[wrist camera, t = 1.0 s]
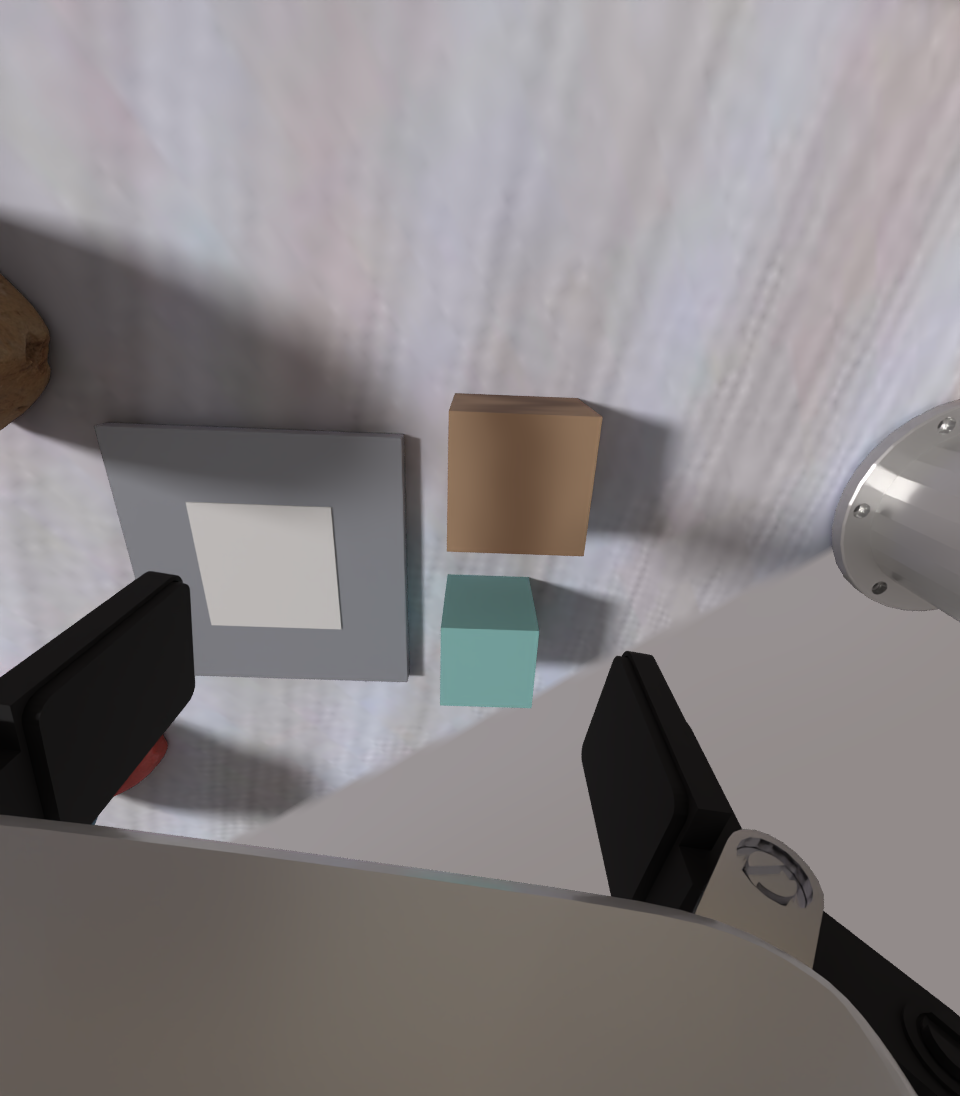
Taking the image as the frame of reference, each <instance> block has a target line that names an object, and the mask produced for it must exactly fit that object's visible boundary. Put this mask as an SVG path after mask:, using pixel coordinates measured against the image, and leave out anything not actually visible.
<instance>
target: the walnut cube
mask: <svg viewBox="0 0 960 1096" xmlns="http://www.w3.org/2000/svg"><path fill="white" fill-rule="evenodd" d="M602 418H603V417H602V416H601V415H599V414H598V413H597V412H595V411H594V410H593V409H591V408H590V407H589V406H587V405H586V404H585V403H583V402H582V401H581V400H579V399H578V398H559V397H534V396H510V395H485V394H460V393H455V395H454V398H453V401H452V403H451V406H450V409H449V435H448V509H447V551H449V552H477V553H505V554H533V555H561V556H584V550H585V542H586V535H587V528H588V520H589V513H590V506H591V498H592V491H593V484H594V476H595V469H596V462H597V454H598V447H599V440H600V432H601V425H602Z"/></svg>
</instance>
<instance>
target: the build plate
mask: <svg viewBox="0 0 960 1096" xmlns="http://www.w3.org/2000/svg"><path fill="white" fill-rule="evenodd" d="M94 428H95V432H96V435H97V439H98V443H99V446H100V450H101V454H102V457H103V461H104V465H105V469H106V472H107V476H108V480H109V483H110V487H111V491H112V494H113V498H114V502H115V505H116V509H117V513H118V516H119V520H120V524H121V528H122V531H123V535H124V539H125V542H126V546H127V550H128V553H129V557H130V561H131V564H132V568H133V572H134V575H135V579H137V578H139V577H140V576H141V575H143V574H144V573H146V572H148V571H155V572H161V573H167V574H173V575H178V576H180V577H181V579H182V581H183V583H185V584H187V585H188V586H189V588H190V598H191V616H192V635H193V654H194V672H195V676H226V677H258V678H290V679H321V680H353V681H385V682H407V681H408V676H409V640H408V595H407V551H406V507H405V463H404V434H385V433H360V432H334V431H309V430H283V429H258V428H232V427H207V426H181V425H156V424H131V423H103V424H100V425H96V426H94Z"/></svg>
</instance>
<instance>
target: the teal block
mask: <svg viewBox="0 0 960 1096" xmlns="http://www.w3.org/2000/svg"><path fill="white" fill-rule="evenodd" d="M538 638H539V627H538V622H537V617H536V612H535V607H534V601H533V596H532V591H531V586H530V581H529V577H507V576H478V575H449V574H448V577H447V584H446V592H445V600H444V608H443V615H442V623H441V675H440V705H447V706H480V707H512V708H531V706H532V697H533V687H534V677H535V668H536V658H537V648H538Z"/></svg>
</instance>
